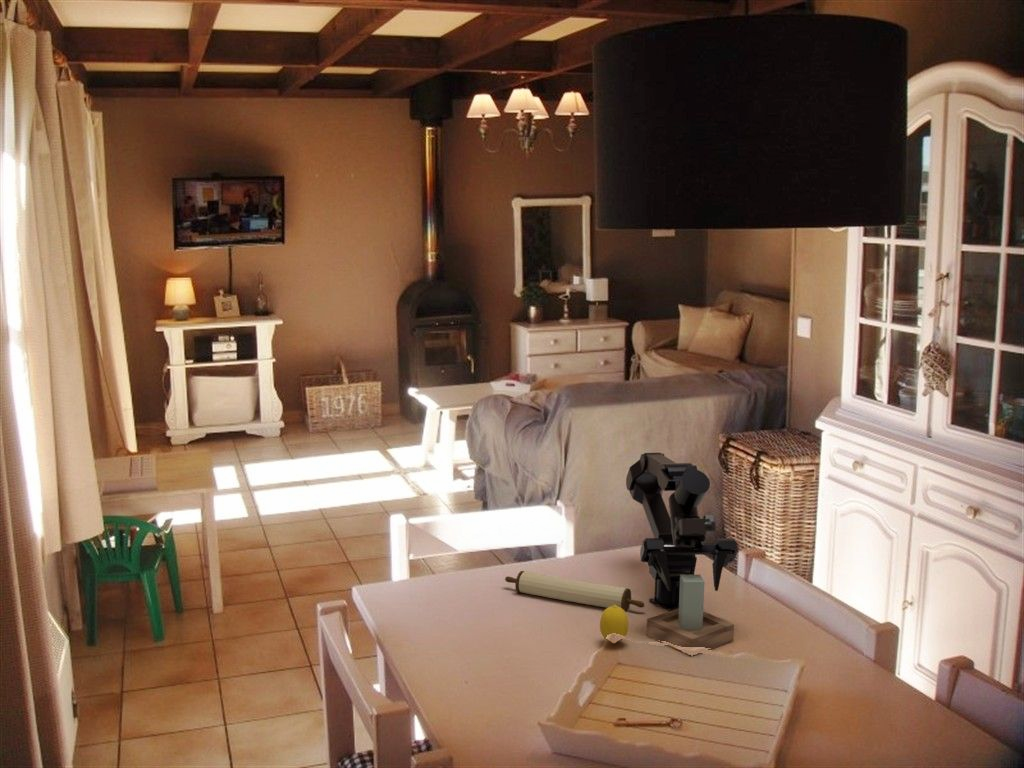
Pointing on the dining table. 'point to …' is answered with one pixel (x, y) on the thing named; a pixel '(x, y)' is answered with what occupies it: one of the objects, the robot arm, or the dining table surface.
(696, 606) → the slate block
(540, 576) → the rolling pin
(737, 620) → the dining table surface
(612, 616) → the lemon
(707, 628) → the walnut base
